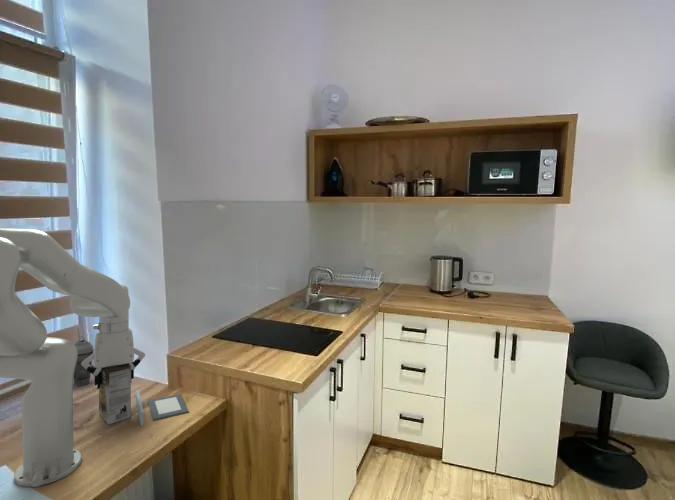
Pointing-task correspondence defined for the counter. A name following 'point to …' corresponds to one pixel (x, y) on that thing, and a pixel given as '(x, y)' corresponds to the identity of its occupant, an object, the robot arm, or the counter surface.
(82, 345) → the beverage cup
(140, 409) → the acrylic wall
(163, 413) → the mat
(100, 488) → the counter surface
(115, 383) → the coffee box
